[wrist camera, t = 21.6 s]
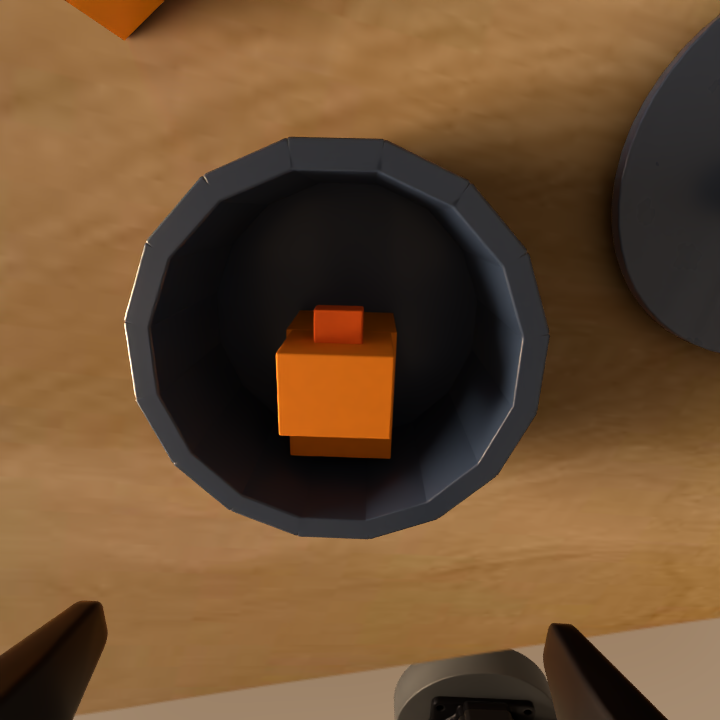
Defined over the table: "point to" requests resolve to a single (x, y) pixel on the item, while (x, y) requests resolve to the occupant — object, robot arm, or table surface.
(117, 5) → the orange juice
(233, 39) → the table surface
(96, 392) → the table surface
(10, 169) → the table surface
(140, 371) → the pot
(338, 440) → the duck
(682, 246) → the lid
